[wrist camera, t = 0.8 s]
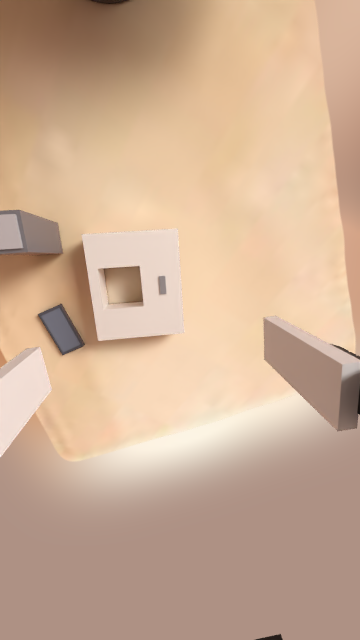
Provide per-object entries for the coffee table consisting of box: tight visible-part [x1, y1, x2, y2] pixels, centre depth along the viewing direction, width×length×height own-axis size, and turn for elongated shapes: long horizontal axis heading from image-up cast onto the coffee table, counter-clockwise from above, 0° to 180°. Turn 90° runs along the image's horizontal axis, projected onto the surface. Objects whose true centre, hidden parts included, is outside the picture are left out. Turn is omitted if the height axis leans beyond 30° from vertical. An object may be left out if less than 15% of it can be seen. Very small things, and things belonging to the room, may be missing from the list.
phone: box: [38, 304, 85, 355], centre depth 38 cm, size 7×4×1 cm, turn 24°
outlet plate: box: [82, 229, 184, 341], centre depth 35 cm, size 14×12×4 cm
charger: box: [0, 210, 63, 255], centre depth 30 cm, size 4×4×10 cm
